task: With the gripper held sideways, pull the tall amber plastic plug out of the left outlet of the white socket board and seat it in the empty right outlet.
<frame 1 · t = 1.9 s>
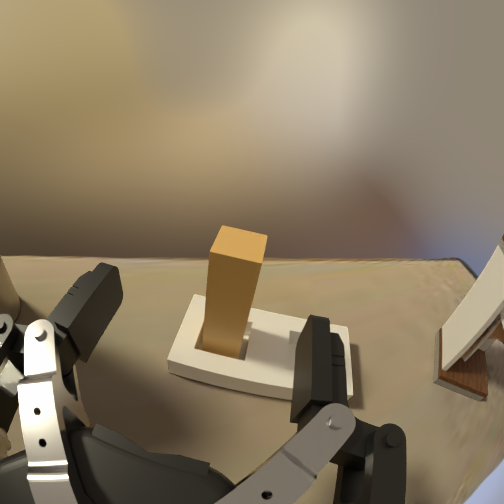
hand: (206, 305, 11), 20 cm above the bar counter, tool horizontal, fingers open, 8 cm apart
plug: (222, 347, 31), resting on white socket board
white tower: (457, 368, 32), on the bar counter
white socket board: (263, 358, 31), on the bar counter
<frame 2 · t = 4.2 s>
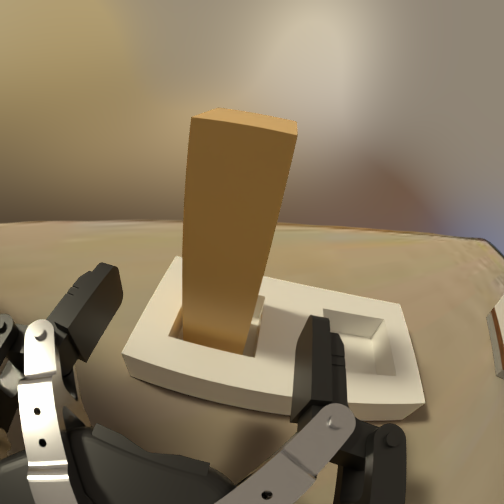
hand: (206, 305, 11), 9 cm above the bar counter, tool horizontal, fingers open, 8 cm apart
plug: (217, 336, 20), resting on white socket board
white socket board: (282, 354, 20), on the bar counter
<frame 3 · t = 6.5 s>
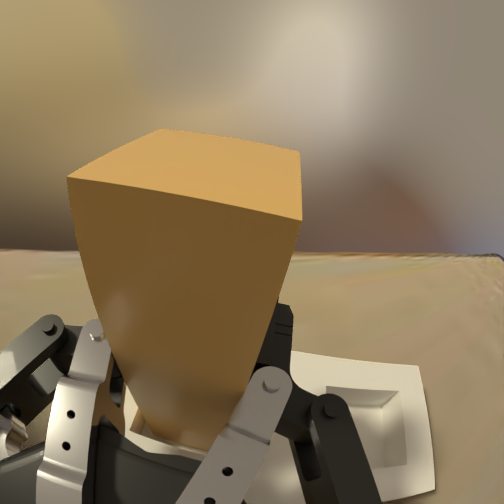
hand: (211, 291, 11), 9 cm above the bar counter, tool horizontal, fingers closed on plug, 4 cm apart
plug: (194, 417, 14), point 1 cm above the bar counter, touching gripper, white socket board
white socket board: (273, 436, 14), on the bar counter
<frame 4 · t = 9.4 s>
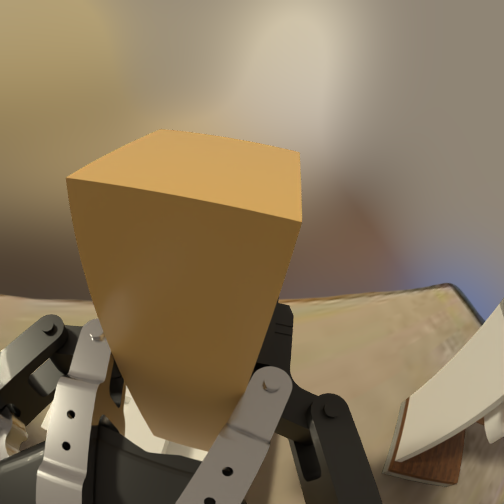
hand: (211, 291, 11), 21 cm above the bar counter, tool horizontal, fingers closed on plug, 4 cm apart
plug: (194, 418, 14), point 12 cm above the bar counter, touching gripper
white tower: (424, 447, 23), on the bar counter
white socket board: (148, 436, 22), on the bar counter
when the fingers open (10 cm above the bar counter, at t = 12.6 s): plug stays where it is, resting on white socket board.
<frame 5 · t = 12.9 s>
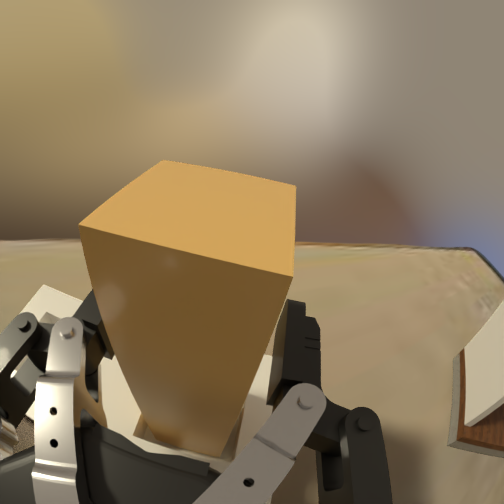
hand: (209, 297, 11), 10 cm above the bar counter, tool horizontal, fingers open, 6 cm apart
plug: (194, 422, 15), point 1 cm above the bar counter, touching white socket board
white tower: (484, 411, 16), on the bar counter
white socket board: (124, 400, 15), on the bar counter
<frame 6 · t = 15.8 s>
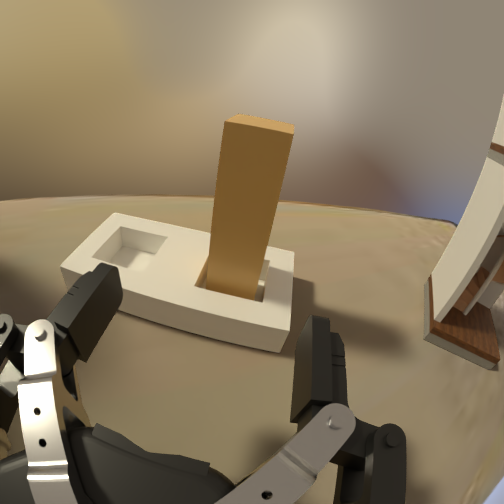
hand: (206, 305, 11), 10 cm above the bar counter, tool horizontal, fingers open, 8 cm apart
plug: (232, 293, 25), resting on white socket board
white tower: (456, 326, 26), on the bar counter
white socket board: (179, 284, 25), on the bar counter
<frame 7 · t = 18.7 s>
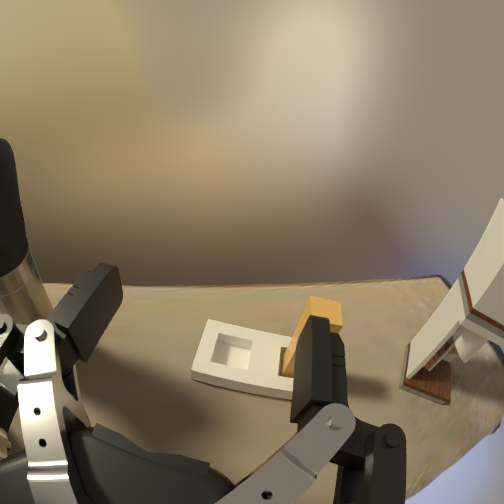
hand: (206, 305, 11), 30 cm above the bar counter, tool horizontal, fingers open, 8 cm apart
plug: (292, 371, 41), resting on white socket board
white tower: (423, 376, 42), on the bar counter
white socket board: (261, 367, 41), on the bar counter
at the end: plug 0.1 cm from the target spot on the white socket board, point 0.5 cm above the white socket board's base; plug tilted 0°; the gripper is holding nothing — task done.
